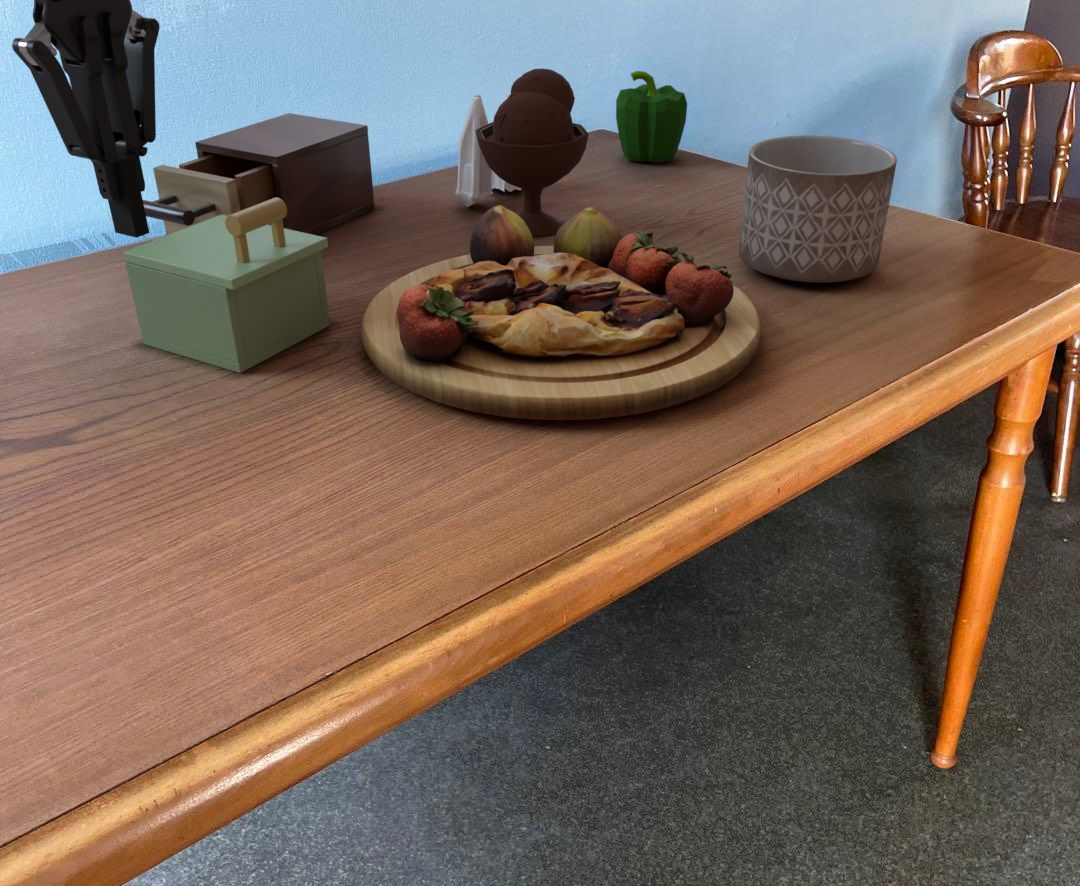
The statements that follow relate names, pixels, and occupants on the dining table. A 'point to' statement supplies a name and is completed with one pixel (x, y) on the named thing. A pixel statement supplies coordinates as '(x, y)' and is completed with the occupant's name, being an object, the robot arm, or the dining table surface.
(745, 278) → the dining table surface
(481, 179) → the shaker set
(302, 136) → the cabinet
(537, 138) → the ice cream bowl
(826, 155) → the planter
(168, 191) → the drawer
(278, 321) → the chest
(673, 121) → the bell pepper
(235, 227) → the chest lid
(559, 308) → the wooden plate
